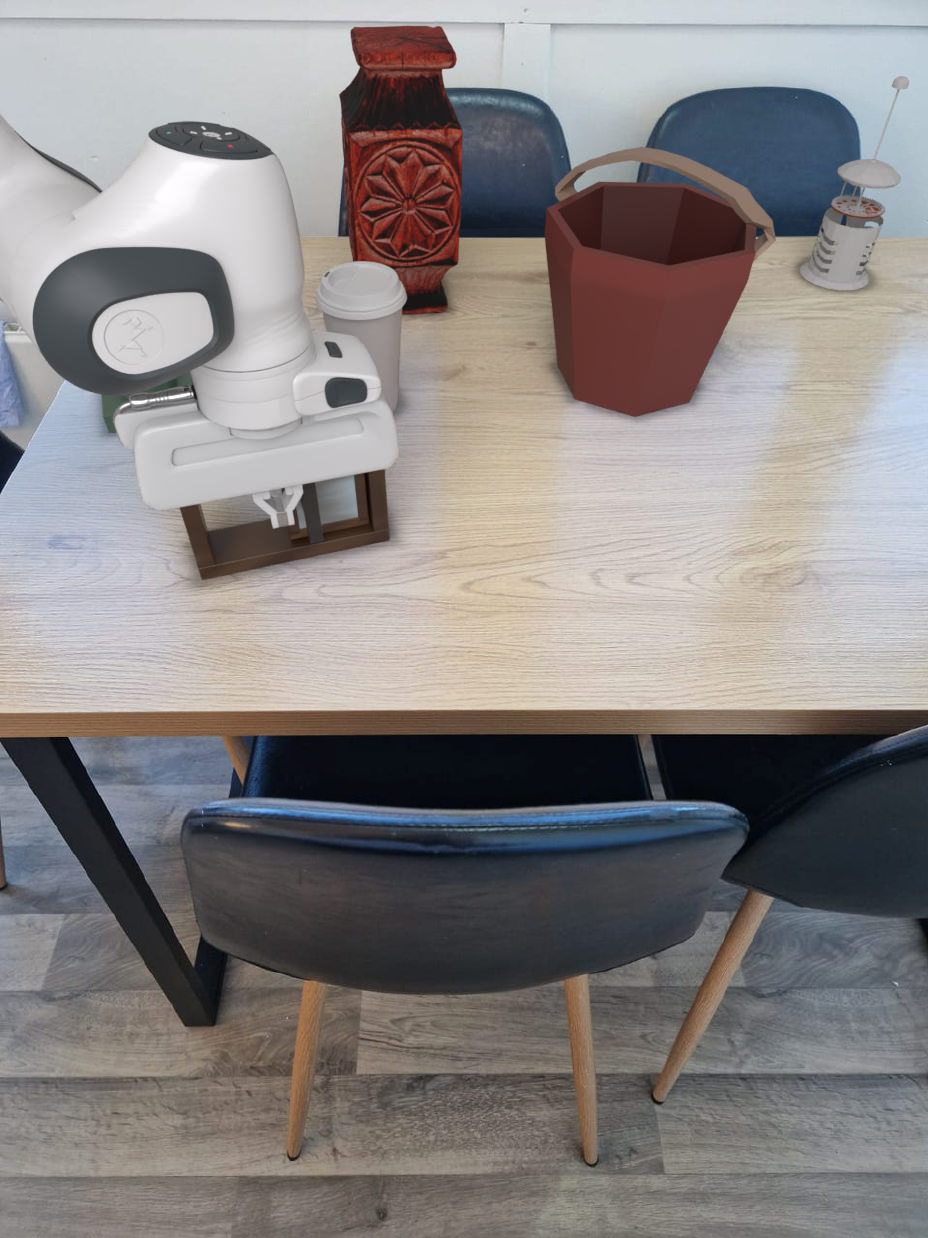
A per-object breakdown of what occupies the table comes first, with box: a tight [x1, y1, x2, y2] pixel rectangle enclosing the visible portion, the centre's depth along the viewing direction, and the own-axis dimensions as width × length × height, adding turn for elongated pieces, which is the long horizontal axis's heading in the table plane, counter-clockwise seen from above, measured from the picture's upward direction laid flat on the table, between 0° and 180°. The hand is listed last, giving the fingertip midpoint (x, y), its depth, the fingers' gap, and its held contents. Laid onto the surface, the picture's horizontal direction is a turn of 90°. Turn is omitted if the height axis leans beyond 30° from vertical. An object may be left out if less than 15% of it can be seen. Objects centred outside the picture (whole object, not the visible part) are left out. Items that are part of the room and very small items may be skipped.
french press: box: [799, 75, 910, 291], centre depth 113 cm, size 10×12×25 cm
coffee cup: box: [315, 261, 407, 413], centre depth 91 cm, size 10×10×15 cm
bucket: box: [544, 146, 777, 418], centre depth 92 cm, size 24×22×25 cm
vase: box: [338, 25, 464, 316], centre depth 104 cm, size 14×14×30 cm
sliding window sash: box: [280, 473, 369, 543], centre depth 74 cm, size 8×5×11 cm
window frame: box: [179, 469, 390, 581], centre depth 75 cm, size 18×5×16 cm, turn 109°
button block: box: [101, 371, 193, 434], centre depth 95 cm, size 10×10×4 cm
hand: (282, 522), depth 70 cm, fingers closed
